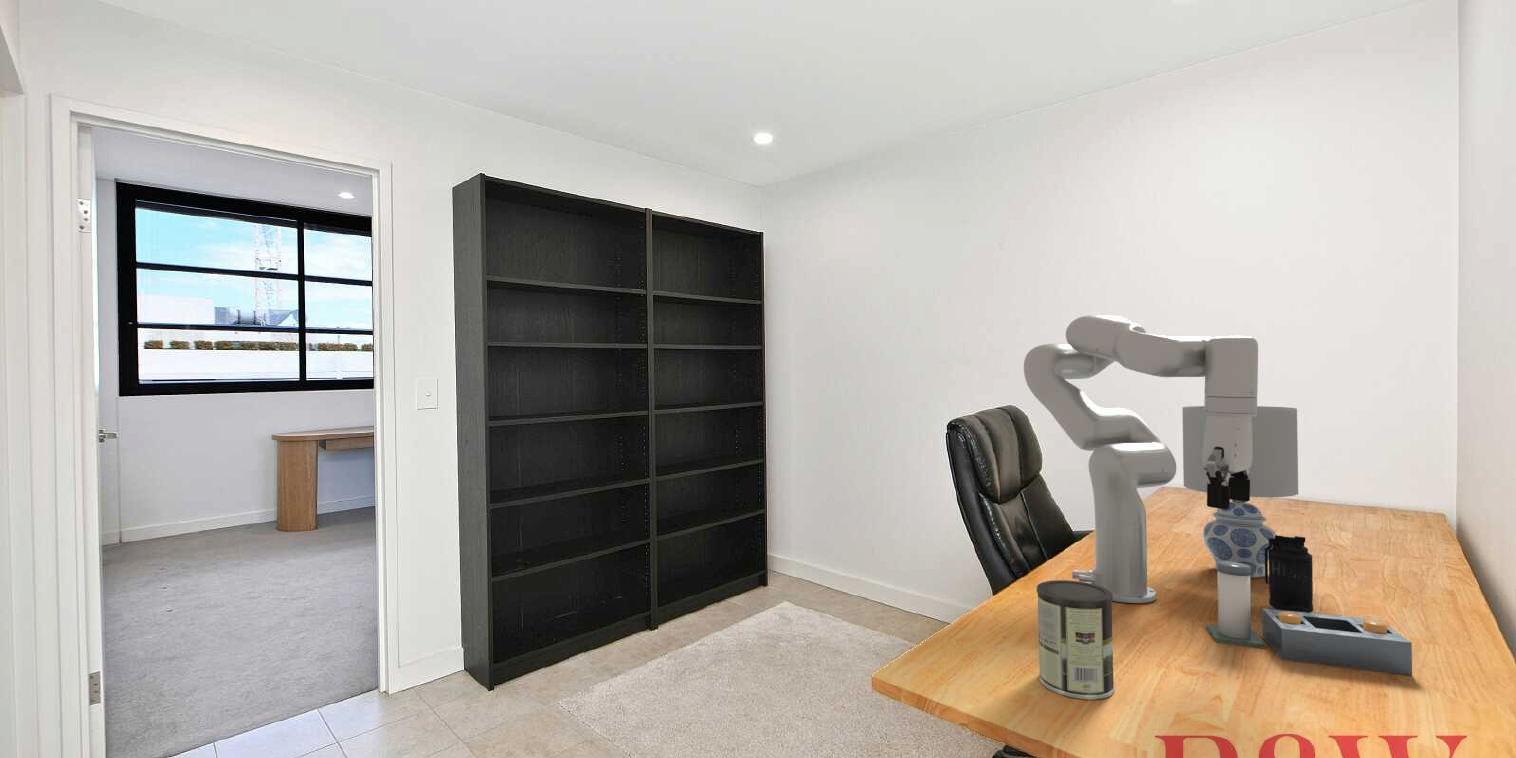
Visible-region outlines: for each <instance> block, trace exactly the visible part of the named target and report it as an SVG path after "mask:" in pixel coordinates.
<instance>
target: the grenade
mask: <svg viewBox="0 0 1516 758" xmlns="http://www.w3.org/2000/svg"><path fill="white" fill-rule="evenodd" d="M1268 541H1269V543H1270V546H1268V547H1267V548H1265V576H1264V582H1265V584H1266V585H1269V587H1268V588H1269V589H1268V590H1269V599H1268V604H1269V605H1270V606H1271V607H1272V608H1273V609H1274V610H1284V611H1294V612H1304V613H1312V612H1314V604H1313V601H1314V597H1313V596H1314V593H1313V591H1314V588H1313V587H1314V585H1313V583H1314V582H1313V581H1314V579H1313V577H1314V575H1313V572H1314V571H1313V555H1312V554H1311V553H1309V549H1308V548H1307V547H1306V546H1305V543H1306V537H1305V536H1297V535H1295V536H1283V535H1277V534H1276V535H1275V538H1269V539H1268ZM1272 545H1273V548H1272ZM1271 548H1272V549H1271ZM1268 550H1269V562H1268Z"/></svg>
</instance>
